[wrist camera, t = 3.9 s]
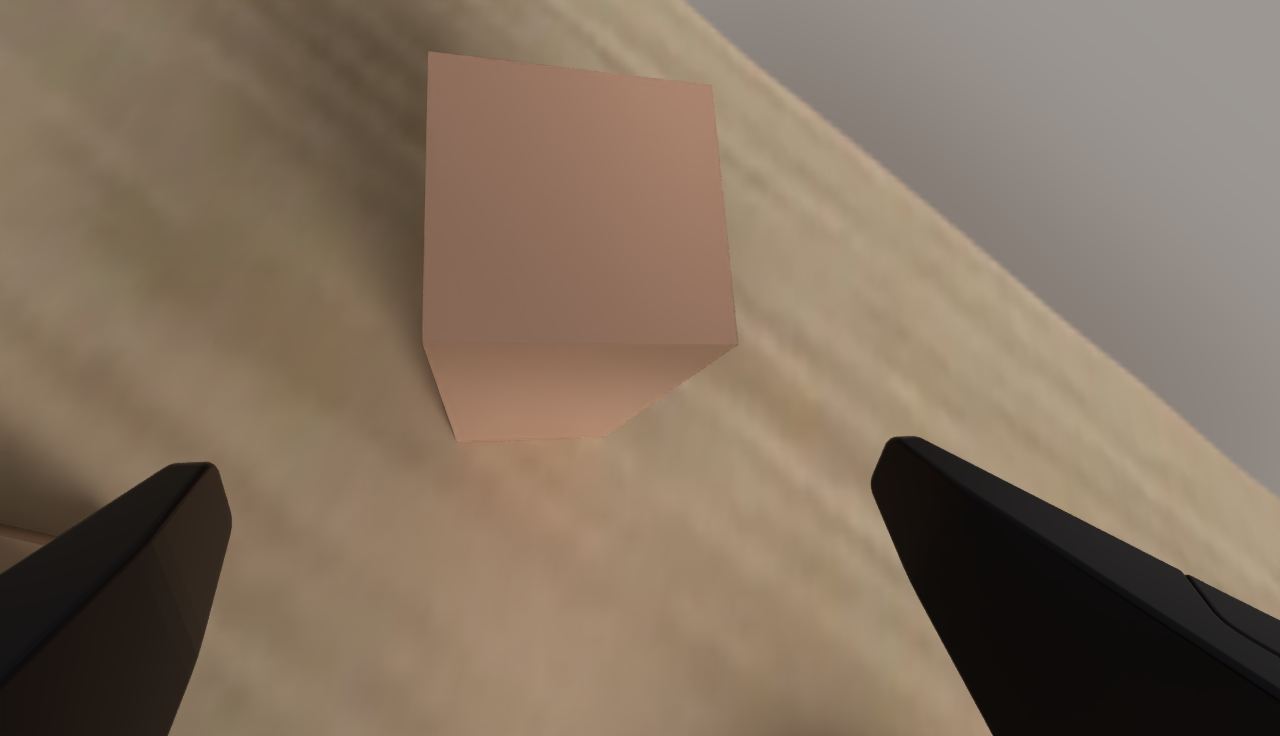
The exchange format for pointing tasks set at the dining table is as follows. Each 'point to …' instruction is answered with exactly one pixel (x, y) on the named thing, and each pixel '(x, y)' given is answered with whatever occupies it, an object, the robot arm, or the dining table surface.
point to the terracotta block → (568, 245)
